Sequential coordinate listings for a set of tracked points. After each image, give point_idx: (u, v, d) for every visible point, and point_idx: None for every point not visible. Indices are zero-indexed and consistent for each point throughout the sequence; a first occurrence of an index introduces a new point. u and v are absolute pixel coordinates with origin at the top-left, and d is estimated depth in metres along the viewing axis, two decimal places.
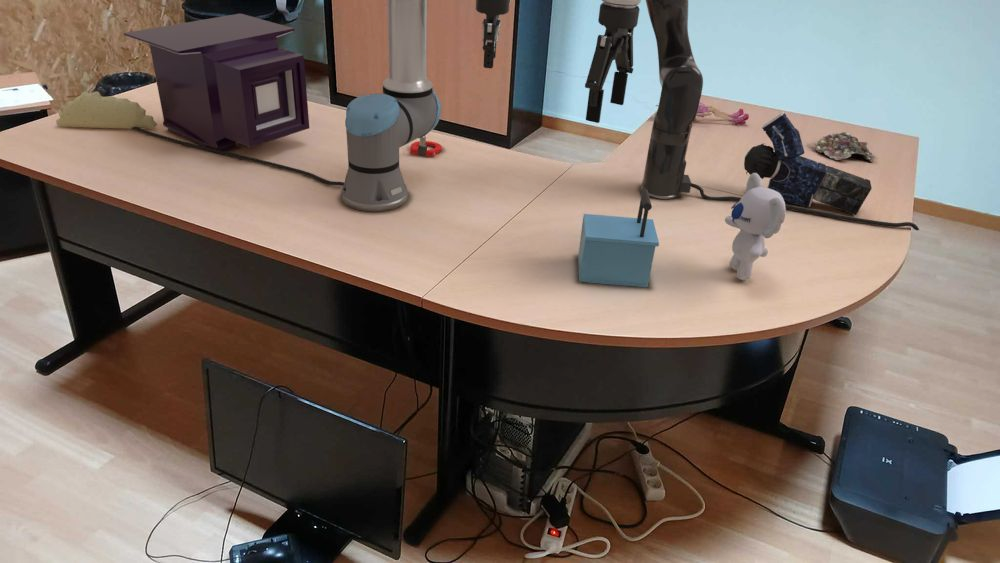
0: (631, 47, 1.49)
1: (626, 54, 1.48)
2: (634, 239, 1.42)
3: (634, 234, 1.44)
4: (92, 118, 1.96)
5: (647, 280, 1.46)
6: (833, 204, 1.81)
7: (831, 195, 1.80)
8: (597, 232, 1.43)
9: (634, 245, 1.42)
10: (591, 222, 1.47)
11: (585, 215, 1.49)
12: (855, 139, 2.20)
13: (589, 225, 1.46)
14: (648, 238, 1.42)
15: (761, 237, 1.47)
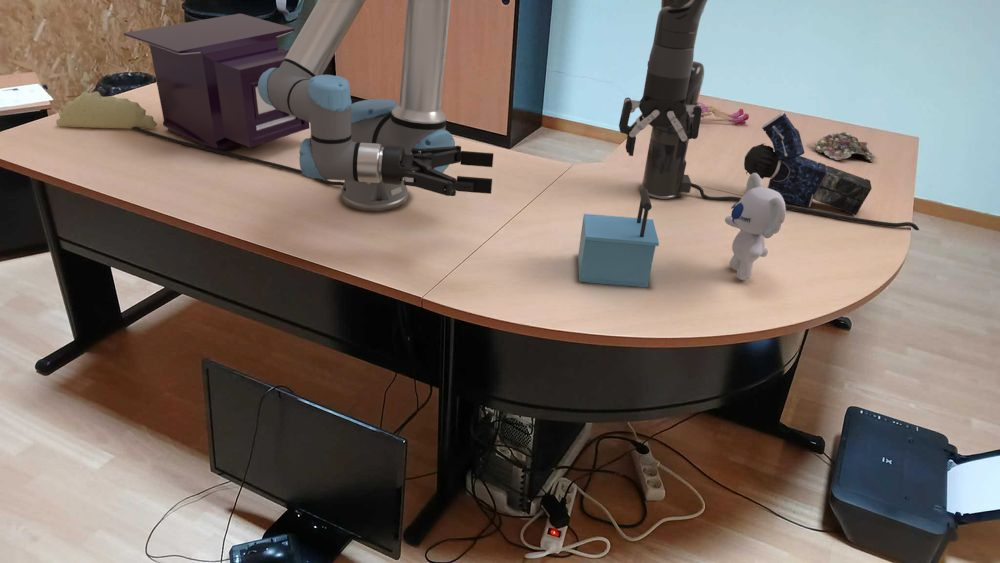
0: None
1: None
2: (634, 239, 1.42)
3: (634, 234, 1.44)
4: (92, 118, 1.96)
5: (647, 280, 1.46)
6: (833, 204, 1.81)
7: (831, 195, 1.80)
8: (597, 232, 1.43)
9: (634, 245, 1.42)
10: (591, 222, 1.47)
11: (585, 215, 1.49)
12: (855, 139, 2.20)
13: (589, 225, 1.46)
14: (648, 238, 1.42)
15: (761, 237, 1.47)
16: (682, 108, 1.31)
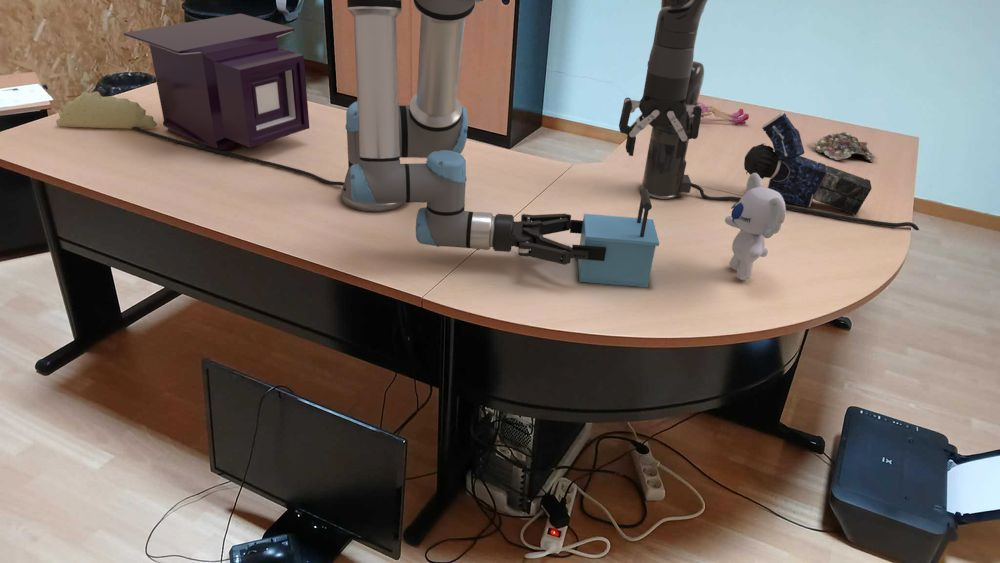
0: None
1: None
2: (634, 239, 1.42)
3: (634, 234, 1.44)
4: (92, 118, 1.96)
5: (647, 280, 1.46)
6: (833, 204, 1.81)
7: (831, 195, 1.80)
8: (597, 232, 1.43)
9: (634, 245, 1.42)
10: (591, 222, 1.47)
11: (585, 215, 1.49)
12: (855, 139, 2.20)
13: (589, 225, 1.46)
14: (648, 238, 1.42)
15: (761, 237, 1.47)
16: (682, 108, 1.31)
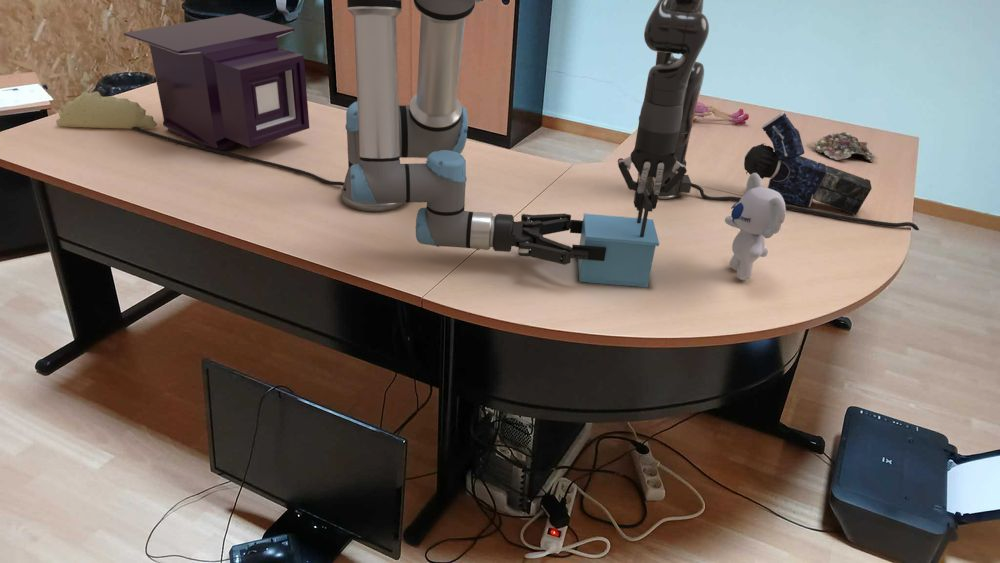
0: None
1: None
2: (634, 239, 1.42)
3: (634, 234, 1.44)
4: (92, 118, 1.96)
5: (647, 280, 1.46)
6: (833, 204, 1.81)
7: (831, 195, 1.80)
8: (597, 232, 1.43)
9: (634, 245, 1.42)
10: (591, 222, 1.47)
11: (585, 215, 1.49)
12: (855, 139, 2.20)
13: (589, 225, 1.46)
14: (648, 238, 1.42)
15: (761, 237, 1.47)
16: (672, 161, 1.37)
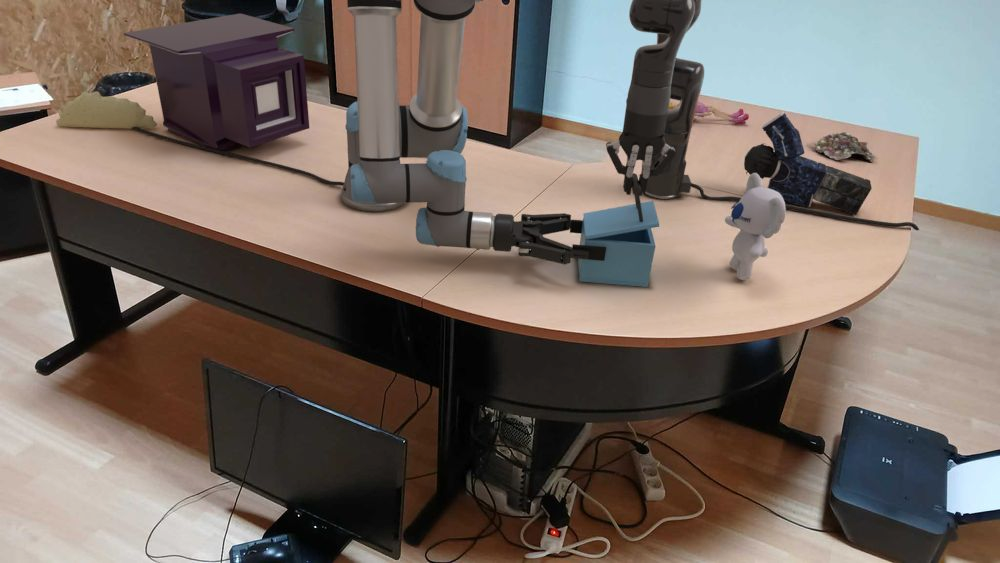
0: None
1: None
2: (634, 226, 1.40)
3: (634, 221, 1.42)
4: (92, 118, 1.96)
5: (647, 280, 1.46)
6: (833, 204, 1.81)
7: (831, 195, 1.80)
8: (596, 228, 1.43)
9: (634, 245, 1.42)
10: (590, 220, 1.47)
11: (584, 214, 1.49)
12: (855, 139, 2.20)
13: (589, 223, 1.46)
14: (648, 222, 1.41)
15: (761, 237, 1.47)
16: (661, 144, 1.35)
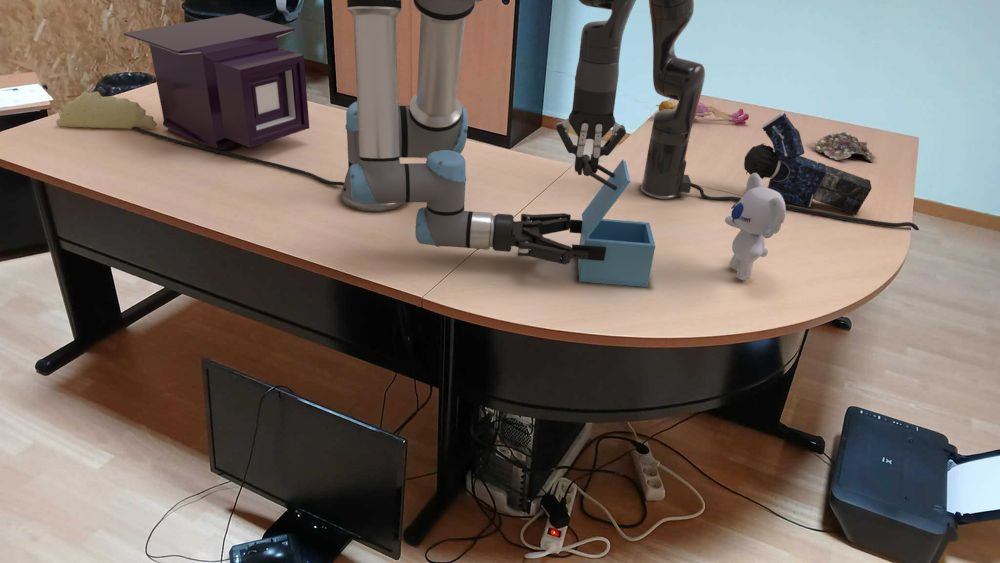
0: None
1: None
2: (611, 198, 1.38)
3: (611, 192, 1.39)
4: (92, 118, 1.96)
5: (647, 280, 1.46)
6: (833, 204, 1.81)
7: (831, 195, 1.80)
8: (590, 222, 1.42)
9: (634, 245, 1.42)
10: (586, 217, 1.46)
11: (582, 214, 1.49)
12: (855, 139, 2.20)
13: (585, 222, 1.45)
14: (620, 185, 1.37)
15: (761, 237, 1.47)
16: (611, 122, 1.33)
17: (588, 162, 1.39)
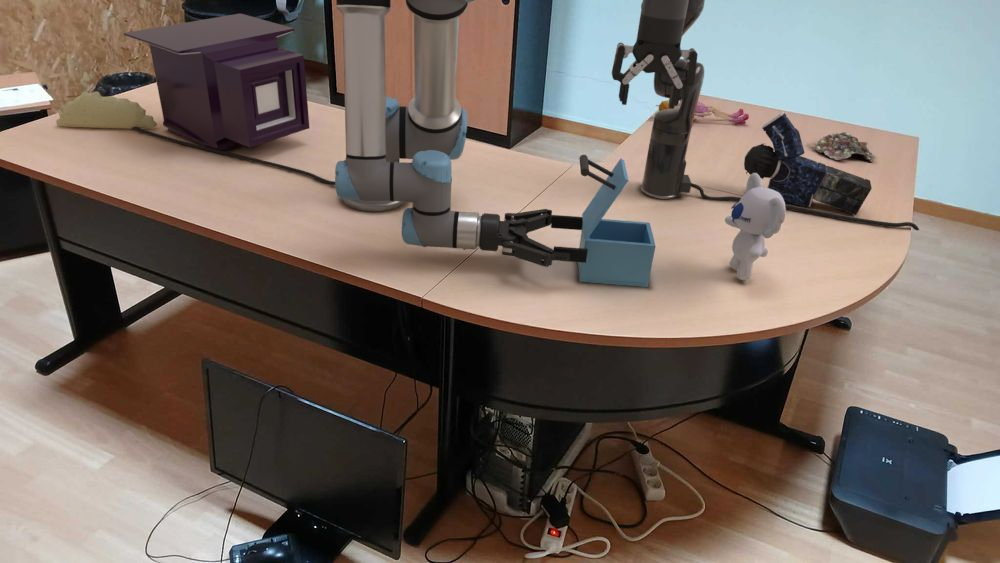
0: None
1: None
2: (610, 197, 1.38)
3: (610, 192, 1.39)
4: (92, 118, 1.96)
5: (647, 280, 1.46)
6: (833, 204, 1.81)
7: (831, 195, 1.80)
8: (590, 222, 1.42)
9: (634, 245, 1.42)
10: (586, 217, 1.46)
11: (582, 214, 1.49)
12: (855, 139, 2.20)
13: (585, 222, 1.45)
14: (618, 184, 1.37)
15: (761, 237, 1.47)
16: (677, 53, 1.26)
17: (586, 162, 1.39)
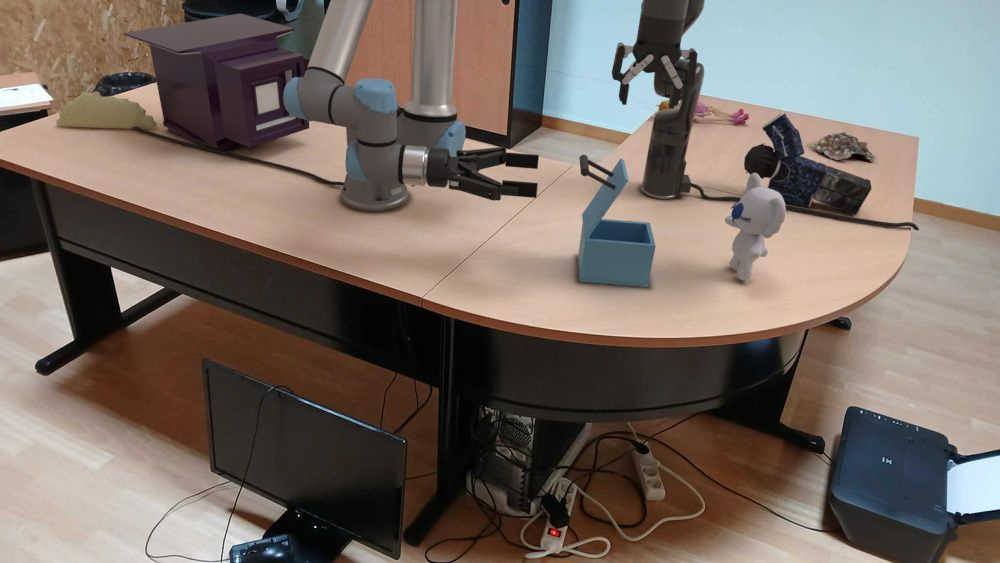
0: None
1: None
2: (610, 197, 1.38)
3: (610, 192, 1.39)
4: (92, 118, 1.96)
5: (647, 280, 1.46)
6: (833, 204, 1.81)
7: (831, 195, 1.80)
8: (590, 222, 1.42)
9: (634, 245, 1.42)
10: (586, 217, 1.46)
11: (582, 214, 1.49)
12: (855, 139, 2.20)
13: (585, 222, 1.45)
14: (618, 184, 1.37)
15: (761, 237, 1.47)
16: (677, 53, 1.26)
17: (586, 162, 1.39)
